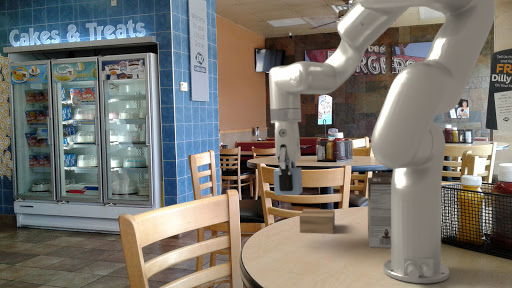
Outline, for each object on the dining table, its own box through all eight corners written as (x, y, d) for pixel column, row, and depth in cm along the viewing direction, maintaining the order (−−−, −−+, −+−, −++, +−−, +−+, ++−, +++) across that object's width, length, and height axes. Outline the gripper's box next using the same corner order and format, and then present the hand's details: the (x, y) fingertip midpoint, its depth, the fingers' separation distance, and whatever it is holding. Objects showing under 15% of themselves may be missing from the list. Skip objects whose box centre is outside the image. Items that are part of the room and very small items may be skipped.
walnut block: (332, 234, 123) (332, 216, 123) (299, 233, 125) (299, 215, 125) (334, 226, 132) (334, 209, 131) (304, 225, 134) (303, 209, 133)
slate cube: (298, 195, 109) (297, 170, 109) (274, 195, 111) (273, 170, 110) (302, 191, 115) (301, 167, 115) (279, 191, 116) (278, 168, 116)
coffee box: (367, 237, 119) (367, 176, 118) (392, 238, 117) (392, 176, 116) (368, 247, 110) (368, 182, 109) (396, 248, 108) (396, 182, 107)
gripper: (295, 115, 103) (298, 194, 104) (305, 116, 119) (307, 183, 120) (263, 117, 104) (266, 194, 105) (277, 117, 121) (280, 184, 122)
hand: (288, 188), depth 113 cm, fingers closed on slate cube, 6 cm apart
